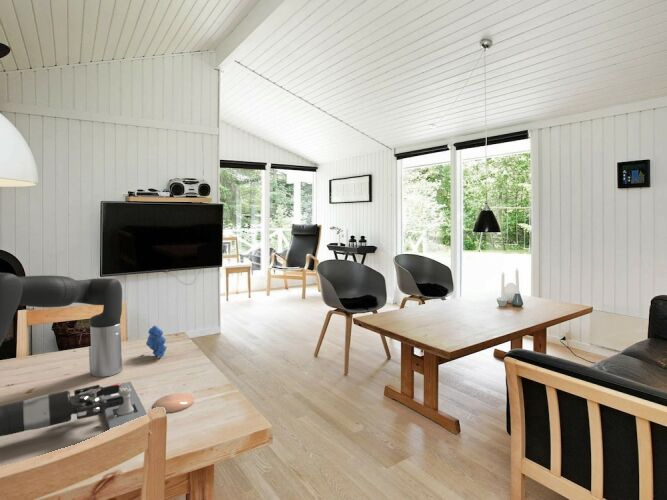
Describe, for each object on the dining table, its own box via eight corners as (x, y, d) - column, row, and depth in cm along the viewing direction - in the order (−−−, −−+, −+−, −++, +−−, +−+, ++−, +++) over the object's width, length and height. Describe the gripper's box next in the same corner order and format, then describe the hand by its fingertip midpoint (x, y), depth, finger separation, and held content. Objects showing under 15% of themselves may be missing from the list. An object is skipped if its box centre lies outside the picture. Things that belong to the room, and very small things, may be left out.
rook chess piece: (120, 412, 111) (119, 384, 110) (137, 411, 111) (136, 384, 111) (113, 420, 106) (112, 391, 106) (130, 419, 107) (129, 391, 106)
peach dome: (144, 409, 112) (144, 407, 112) (170, 393, 123) (170, 391, 123) (178, 414, 110) (178, 412, 110) (201, 397, 120) (201, 395, 120)
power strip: (98, 392, 123) (98, 386, 123) (130, 385, 128) (130, 379, 128) (111, 435, 99) (110, 427, 99) (150, 424, 104) (149, 417, 104)
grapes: (139, 355, 157) (138, 325, 156) (156, 351, 162) (155, 322, 161) (153, 362, 149) (152, 331, 149) (170, 357, 155) (169, 327, 154)
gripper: (46, 406, 92) (124, 389, 102) (47, 385, 104) (117, 372, 113) (48, 437, 93) (125, 417, 102) (48, 413, 105) (118, 397, 114)
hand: (121, 393), depth 108 cm, fingers open, 8 cm apart
